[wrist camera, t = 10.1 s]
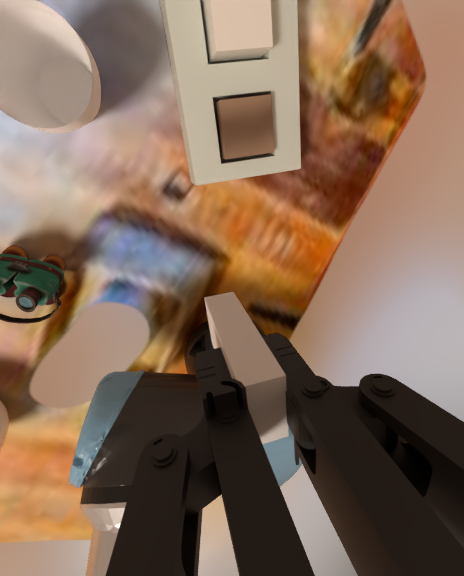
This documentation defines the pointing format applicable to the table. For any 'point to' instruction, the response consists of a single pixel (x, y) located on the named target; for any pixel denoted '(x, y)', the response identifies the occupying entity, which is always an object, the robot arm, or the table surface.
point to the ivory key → (237, 28)
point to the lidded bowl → (3, 423)
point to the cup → (45, 69)
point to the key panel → (233, 91)
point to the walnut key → (244, 126)
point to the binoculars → (30, 282)
